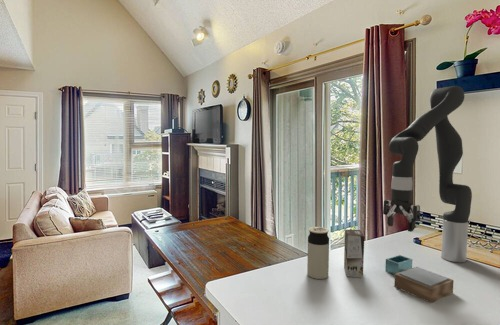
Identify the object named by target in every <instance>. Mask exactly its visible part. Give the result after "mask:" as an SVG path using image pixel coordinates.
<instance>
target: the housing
mask: <svg viewBox="0 0 500 325" xmlns="http://www.w3.org/2000/svg"><path fill="white" fill-rule="evenodd" d="M411 268H413V258H410V257H407V256H404V255H402V254H398V255H395V256H390V257H389V258H385V272H387V273H389V274H390V273H391V274H392V275H394V276H395V274H396V273H399V272H402V271H405V270H408V269H411Z"/></svg>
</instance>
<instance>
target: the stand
mask: <svg viewBox="0 0 500 325" xmlns="http://www.w3.org/2000/svg"><path fill="white" fill-rule="evenodd" d="M393 284H394V287H395V288H398V289H400V290H401V291H404V292H406V293H408V292H409V293H408V294H411V295H413V296H415V297H417V298H418V299H422V300H423V301H427V302H429V303H431V304H432V303H435V302H436V301H438V300H441V299H443V298H445V297H447V296H449V295H453V294H454V279H451V278H449V277H446V276H444V275H441V274H439V273H435V272H432V271H430V270H427V269H424V268H421V267H419V266H415V267H412V268H411V269H408V270H405V271H402V272H399V273H396V274H395V275H394V283H393Z"/></svg>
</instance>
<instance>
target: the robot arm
mask: <svg viewBox="0 0 500 325" xmlns="http://www.w3.org/2000/svg"><path fill="white" fill-rule="evenodd" d="M464 101H465V91H464V90H463V88H462V87H461V86H459V85H458V86H457V85H452V86H445V87H444V86H443V87H438V88H435V89H434V90H432V91H431V93H430V96H429V104H430V110H427V111H426V112H424V113H422V114H421V115H419V116H418V117H417V118H416V119H414V121H413V122H412V123H411V124H409V126H408V127H407V128H405V129H404V130H402V131H401V132H399V133H397V134H396V135H394V137H392V138H391V140H390V142H389V144H388V150H389V152H390V153H391V154H393V155H396V156H402V157H401V159H400V160H398V161H395V162H393V164H392V177H391V185H390V187H391V188H390V199H385V200H384V201H383V208H382V214H383V215H385V216H387V226H388V227H393V226H394V215H395V214H400V215H404V217H406V219H407V220H408V222H407V232H414V230H415V223H416V222H420V220H421V206H420V205H419V204H415V205H414V204H413V203H412V202H413V201H412V200H413V186H414V182H413V170H414V169H413V167H414V164H415V162H416V158H417V156H418V152H419V142H421V141H422V140H424V138H426V136H427V135H428V134H429V133H430V131H431V130H432V129H434V130H435V142H436V151H437V161H438V173H439V176H438V179H439V180H438V181H439V182H438V183H439V185H438V192H439V198H440V201H441V202H442V203H444V204H447V205H452V206H454V209H453V210H451V211H445V212H444V213H443V214H442V234H441V236H442V237H441V254H440V255H441V256H440V257H441V259H444V260H446V261H450V262H453V263H454V262H455V263H465V262H467V254H468V233H469V218H470V214H471V205H472V199H473V193H472V189H471V187H470V186H469V185H467V184H459V183H454V180H453V177H454V171H455V169H456V167H457V166H458V164H459V163H460V161H461V160H462V157H463V155H464V147H463V138H462V137H461V135H460V134H459V132H458V131H457V130H456V129H455V127H454V126H453V125H452V123H451V121H450V120H449V118H448V116H449V115H450V114H452V113H453V112H454V111H455V110H457V109H458V108H459V107H460V106H462V104H463V102H464Z"/></svg>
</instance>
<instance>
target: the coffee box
mask: <svg viewBox="0 0 500 325" xmlns="http://www.w3.org/2000/svg"><path fill="white" fill-rule="evenodd" d="M365 237H366V236H365V235H364V233H363V232H362V230H361V229H347V228H346V229H344V247H343V248H344V254H343V255H344V257H343V262H344V263H343V264H344V265H343V267H344V272H345V275H346V277H349V278H350V277H352V278H360V279H361V278H362V279H363V278H364V260H365V259H364V258H365V256H364V254H365Z"/></svg>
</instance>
